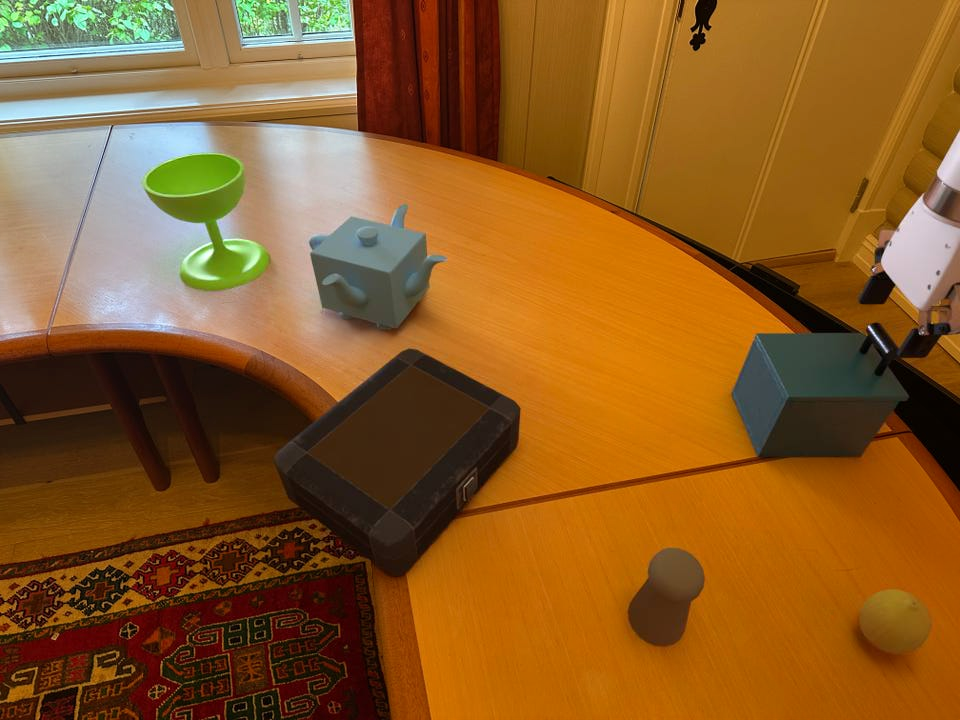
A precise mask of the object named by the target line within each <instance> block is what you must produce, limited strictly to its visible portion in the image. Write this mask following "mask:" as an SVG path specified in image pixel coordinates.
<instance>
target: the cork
mask: <svg viewBox="0 0 960 720" xmlns="http://www.w3.org/2000/svg"><path fill="white" fill-rule="evenodd" d="M647 576H648V577H647V578H646V580H645V581H644V582H643V584H642V585H641V587H640V588H639V589H638V591H637V592H636V593H635V594H634V596H633V597H632V599H631V600H630V601H629V603H628V608H627V616H628V622H629V624H630V626H631V628H632V630H633V631H634V632H635V634H636V635H637V636H638V637H639V638H640V639H641V640H643V641H644V642H646V643H647V644H650V645H653V646H655V647H668V646H673V645H675V644H676V643H678V641H680V640H681V639H682V638H683V636H684V634H685V632H686V628H687V623H688V618H689V617H688V616H689V613H690V608H691V605H692V602H693V601H694V600H696V599H697V598H698V597H699V596H700V595H701V593H702V591H703V590H704V587H705V581H706V577H705V572H704V568H703V566H702V565H701V562H700V561H699V560H698V559H697V558H696V557H695V556H694V555H693V554H692V553H691V552H689V551H688V550H686V549H682V548H679V547H667V548H663V549H661V550H659V551H657V552H655V554H654V555H653V557H652V558H651V559H650V561H649V564H648V569H647Z"/></svg>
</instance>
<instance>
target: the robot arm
mask: <svg viewBox="0 0 960 720" xmlns="http://www.w3.org/2000/svg"><path fill="white" fill-rule="evenodd" d="M869 271H870V274H871V275H870V277H869V278H868V280H867V282H866V284H865V285H864V287H863V289H862V291H861V293H860V294H859V297H858V298H857V302H858V303H859V304H860V305H884V304H886V303H887V300H888V299H889V297H890V295H891V293H893V290H894V288H895V287H896V288H898V289H899V291H900V292H901V293H902V294H903V296H905V298H906V299H907V300H908V301H909V302H910V304H912V305H913V306H914V307H915V308H916V309H917V310H918V320H917V321H918V322H917V323H918V324H917V327H915V328H911V330H910V331H909V333H908V334H907V335H906V336H905V338H904V340H903V342H902V344H901V345H900V346H899V350H898V351H897V355H898V356H899V357H898V358H899V359H925V358H927V357H928V356H929V355H930V353H931V352H932V350H933V349H934V347H935V346H936V344H937V343H938V341H939V340H940V339H941V337H942V336H951V335H959V334H960V130H959V131H958V133H957V134H956V137H955V138H954V140H953V142H952V143H951V145H950V147H949V149H948V150H947V152H946V154H945V156H944V158H943V160H942V161H941V163H940V165H939V167H938V169H937V170H936V172H935V174H934V175H933V177H932V179H931V180H930V183H929V185H928V187H927V188H926V190H925V191H924V192H923V193H922V194H921V196H919V198H918V199H917V200H916V201H915V203H914V204H913V205H912V206H911V208H910V209H909V210H908V212H907V213H906V215H905V216H904V218H903V219H902V220H901V222H900V224H899V225H898V226H897V228H896V229H881V230H880V231H879V235H878V241H877V247H876V248H875V250H874V264H872V265H871V267H870V269H869ZM939 303H940V305H938V304H939ZM933 312H938V322H937V323H932V313H933Z"/></svg>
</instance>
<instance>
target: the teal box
mask: <svg viewBox="0 0 960 720" xmlns="http://www.w3.org/2000/svg"><path fill="white" fill-rule="evenodd" d="M730 394H731V397H732V399H733V401H734V404H735V406H736V409H737V411H738V413H739V416H740V418H741V421H742V422H743V425H744V428H745V431H746V432H747V434H748V438H749V439H750V442H751V444H752V446H753V449H754V451H755V453H756V456H757V458H861V457H862V455H863V454H864V453H865V451H866V450H867V449H868V447H869V446H870V444H871V443H872V441H873V440H874V438H875V437H876V436H877V435H878V433H879V431H880V430H881V429H882V427H883V426H884V424H885V423H886V422H887V420H888V418H889V417H890V416H891V415H892V413H893V411H894V410H895V409H896V407H897V405H898V404H899V403H900V401H786V399H785V397H784V395H783V393H782V391H781V389H780V387H779V385H778V383H777V381H776V379H775V377H774V375H773V373H772V371H771V369H770V367H769V366H768V364H767V362H766V360H765V358H764V356H763V354H762V352H761V350H760V348H759V346H758V344H757V342H756V340H755V338H753V340H752V342H751V345H750V347H749V350H748V352H747V355H746V357H745V359H744V362H743V364H742V367H741V369H740V371H739V374H738V376H737V378H736V381H735V383H734V386H733V388H732V390H731V393H730Z"/></svg>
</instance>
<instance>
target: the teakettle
mask: <svg viewBox="0 0 960 720" xmlns="http://www.w3.org/2000/svg"><path fill="white" fill-rule="evenodd" d="M408 209H409V205H408V204H407V203H402V204H400V205H399V206H398V207H397V208H396V209H395V211H394V213H393V216H392V219H391V222H390V224H387V223H382V222H377V221H373V220H370V219H366V218H365V219H364V218H360V217H355V216H350V217H348V219H346V220H345V221H344V222H343V223H342V224H341V225H339V226H338V227H337V228H336V229H335V230H334V231H332V233H330V234H323V233H320V234H319V233H317V234H314V235H312V236H311V237H310V238H309V239H308V244H309V247H310V248H311V250H312V251H310V252H309V256H310V260H311V264H312V269H313V273H314V277H315V283H316V287H317V290H318V295H319V299H320V300H319V301H320V304H321V308H322V309H325V310H329V311H332V312H335V313H339V315H340V317H341V318H342V319H346V320H349V319H350V320H351V319H354V318H357V319H361V320H364V321H368V322H371V323H375V324H377V327H378V328H379V329H380V330H391V329H398V328H399V327H400V325H401V324H402V323H403V322H404V320H405V319H406V318H407V317H408V316H409V314H410V313H411V311H412V310H413V309H414V308H415V307H416V306H417V304H418V303H419V302H420V300H421V299H422V298H423V297H424V296H425V294H426V293H427V292H428V290H429V289H430V287H431V286H430V279H431V276H432V271H433V268H434V267H435V265H437V264H440V263H443V262H447V261H448V257H446V256H444V255H441V254H430V255H428V245H427V235H426V233H424V232H422V231H421V232H420V231H417V230H414V229H413V230H412V229H408V228H405V217H406V214H407V211H408Z"/></svg>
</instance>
